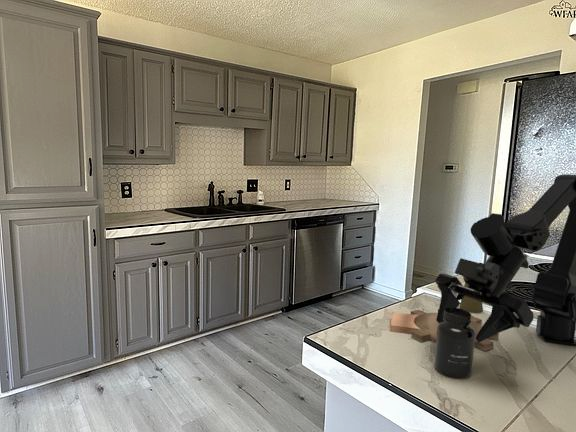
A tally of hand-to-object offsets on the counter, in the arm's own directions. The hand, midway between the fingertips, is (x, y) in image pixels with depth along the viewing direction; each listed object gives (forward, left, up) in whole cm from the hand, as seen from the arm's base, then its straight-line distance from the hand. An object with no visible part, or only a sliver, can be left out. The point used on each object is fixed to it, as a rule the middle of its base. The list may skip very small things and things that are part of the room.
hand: (456, 330), depth 72 cm
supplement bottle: (0, 0, -8) cm, 8 cm away
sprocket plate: (+1, -19, -8) cm, 20 cm away
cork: (-9, -37, -8) cm, 39 cm away
